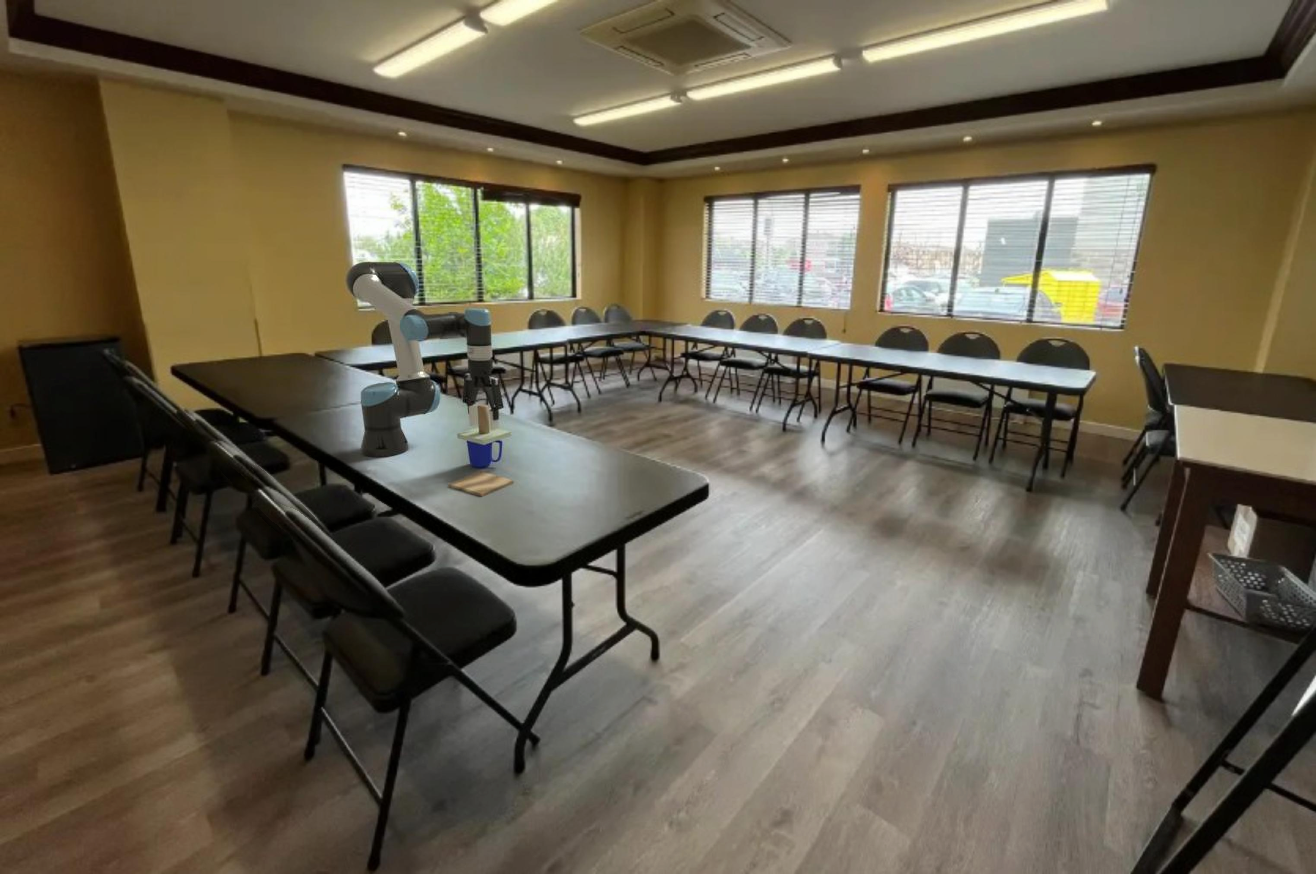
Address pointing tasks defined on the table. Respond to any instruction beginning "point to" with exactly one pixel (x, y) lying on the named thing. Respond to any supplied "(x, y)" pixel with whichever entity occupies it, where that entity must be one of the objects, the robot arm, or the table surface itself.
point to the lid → (483, 429)
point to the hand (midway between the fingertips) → (484, 427)
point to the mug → (482, 453)
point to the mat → (481, 483)
